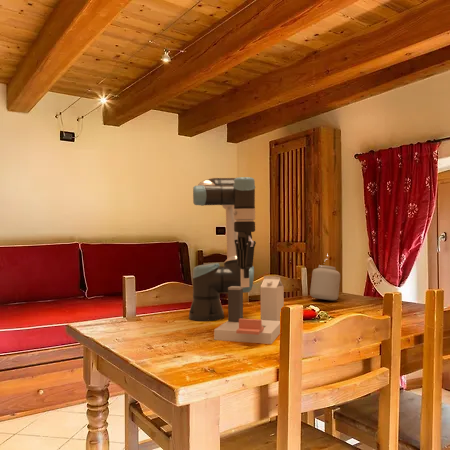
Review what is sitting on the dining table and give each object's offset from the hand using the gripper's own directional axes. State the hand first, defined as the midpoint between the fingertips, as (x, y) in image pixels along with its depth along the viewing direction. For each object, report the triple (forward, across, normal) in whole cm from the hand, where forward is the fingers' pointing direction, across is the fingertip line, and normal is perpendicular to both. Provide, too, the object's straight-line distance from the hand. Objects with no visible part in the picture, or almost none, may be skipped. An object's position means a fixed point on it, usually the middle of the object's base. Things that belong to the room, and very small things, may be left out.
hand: (245, 286), depth 152 cm
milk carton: (+18, -14, +19) cm, 30 cm away
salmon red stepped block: (+13, +9, -3) cm, 17 cm away
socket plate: (+18, 0, +2) cm, 18 cm away
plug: (+14, -10, 0) cm, 17 cm away
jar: (+20, -52, +72) cm, 91 cm away
